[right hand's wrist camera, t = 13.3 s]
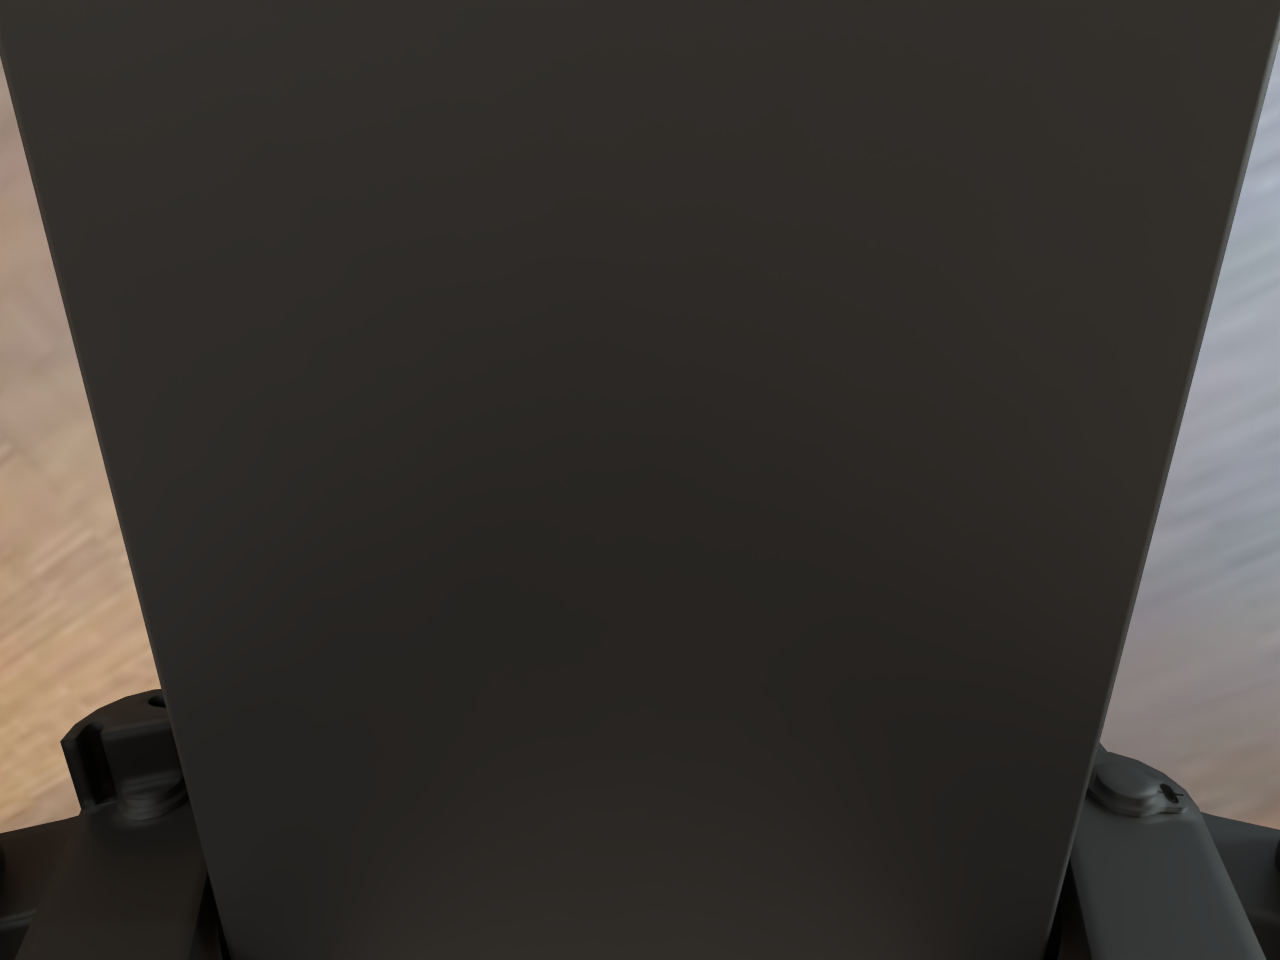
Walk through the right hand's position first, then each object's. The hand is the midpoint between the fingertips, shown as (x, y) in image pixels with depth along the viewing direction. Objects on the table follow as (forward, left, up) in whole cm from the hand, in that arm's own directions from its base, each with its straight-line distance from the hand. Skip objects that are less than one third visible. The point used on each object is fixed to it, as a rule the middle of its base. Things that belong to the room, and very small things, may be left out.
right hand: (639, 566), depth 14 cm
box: (+5, +9, -1) cm, 11 cm away
